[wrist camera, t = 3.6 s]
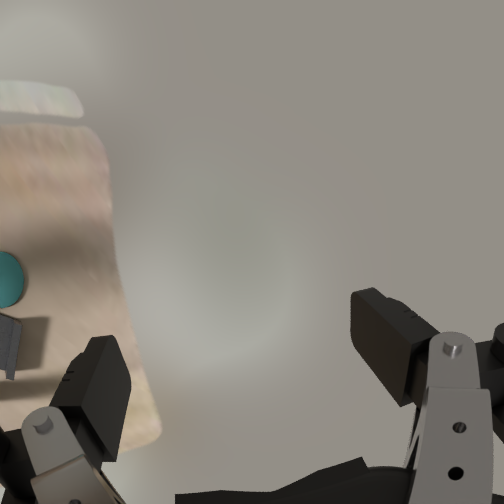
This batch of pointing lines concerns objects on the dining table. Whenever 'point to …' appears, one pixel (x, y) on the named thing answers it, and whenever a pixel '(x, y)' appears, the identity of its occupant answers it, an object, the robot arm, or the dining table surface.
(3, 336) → the metal channel
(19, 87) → the dining table surface
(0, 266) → the teal mat
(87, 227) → the dining table surface
